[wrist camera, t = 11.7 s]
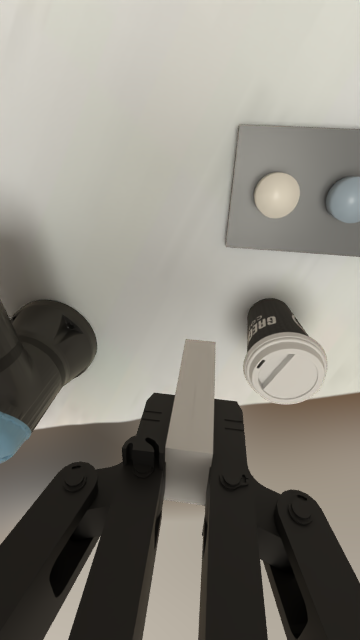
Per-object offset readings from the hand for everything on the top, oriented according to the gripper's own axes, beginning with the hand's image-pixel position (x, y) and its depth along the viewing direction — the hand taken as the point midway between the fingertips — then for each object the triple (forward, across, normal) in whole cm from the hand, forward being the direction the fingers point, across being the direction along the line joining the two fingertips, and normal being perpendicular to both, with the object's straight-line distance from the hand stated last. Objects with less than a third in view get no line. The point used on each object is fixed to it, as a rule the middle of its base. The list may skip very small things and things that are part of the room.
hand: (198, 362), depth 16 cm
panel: (+30, +16, +6) cm, 35 cm away
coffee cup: (+31, +10, -12) cm, 34 cm away
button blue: (+29, +16, +6) cm, 34 cm away
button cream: (+29, +7, +6) cm, 31 cm away
